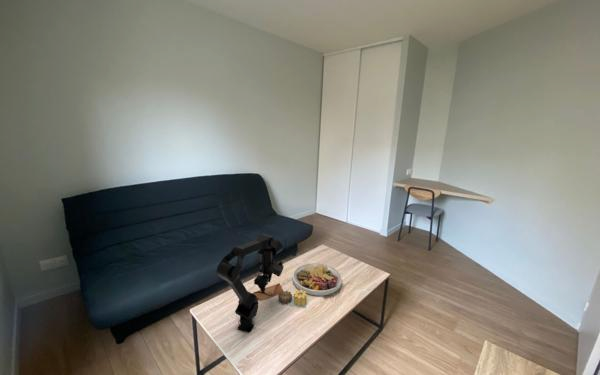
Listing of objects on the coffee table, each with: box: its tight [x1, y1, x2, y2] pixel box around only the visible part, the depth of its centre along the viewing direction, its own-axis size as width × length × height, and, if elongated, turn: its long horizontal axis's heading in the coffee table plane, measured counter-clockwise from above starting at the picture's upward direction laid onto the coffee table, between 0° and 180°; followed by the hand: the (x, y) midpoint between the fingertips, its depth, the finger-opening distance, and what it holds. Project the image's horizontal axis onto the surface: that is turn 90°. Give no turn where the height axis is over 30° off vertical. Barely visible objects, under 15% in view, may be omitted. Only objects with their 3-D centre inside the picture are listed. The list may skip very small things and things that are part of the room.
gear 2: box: [293, 289, 308, 308], centre depth 128 cm, size 7×7×5 cm
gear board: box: [276, 294, 309, 309], centre depth 129 cm, size 8×16×6 cm, turn 79°
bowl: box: [292, 262, 343, 297], centre depth 147 cm, size 30×30×8 cm
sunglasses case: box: [251, 282, 284, 302], centre depth 135 cm, size 18×7×7 cm, turn 126°
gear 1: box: [277, 290, 293, 304], centre depth 129 cm, size 7×7×4 cm
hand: (266, 287), depth 123 cm, fingers open, 9 cm apart
